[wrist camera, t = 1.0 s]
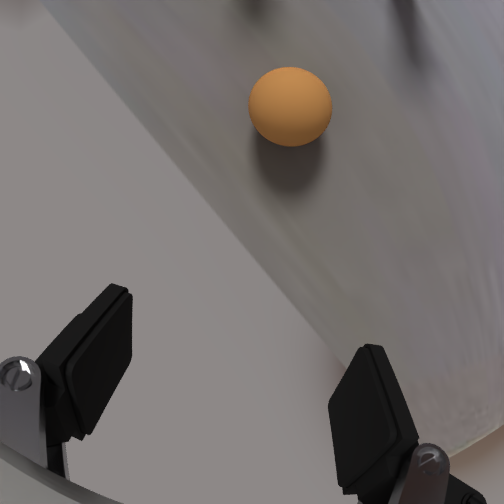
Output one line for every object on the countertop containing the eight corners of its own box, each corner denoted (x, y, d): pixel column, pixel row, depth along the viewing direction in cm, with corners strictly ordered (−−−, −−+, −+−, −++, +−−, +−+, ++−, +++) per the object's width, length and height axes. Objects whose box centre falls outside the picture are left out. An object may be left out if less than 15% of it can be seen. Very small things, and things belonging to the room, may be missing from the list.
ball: (331, 87, 20) (348, 73, 15) (315, 154, 22) (327, 158, 17) (260, 69, 20) (256, 49, 15) (243, 136, 22) (235, 135, 17)
